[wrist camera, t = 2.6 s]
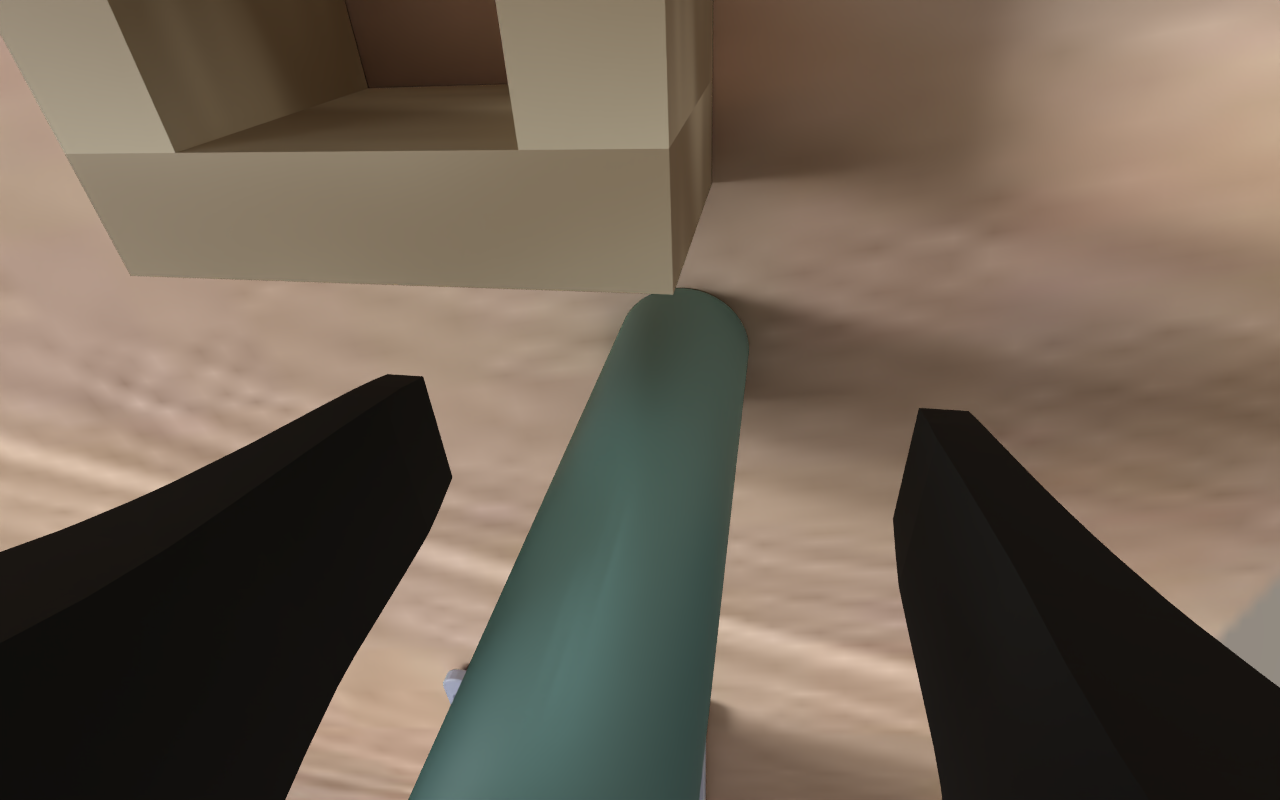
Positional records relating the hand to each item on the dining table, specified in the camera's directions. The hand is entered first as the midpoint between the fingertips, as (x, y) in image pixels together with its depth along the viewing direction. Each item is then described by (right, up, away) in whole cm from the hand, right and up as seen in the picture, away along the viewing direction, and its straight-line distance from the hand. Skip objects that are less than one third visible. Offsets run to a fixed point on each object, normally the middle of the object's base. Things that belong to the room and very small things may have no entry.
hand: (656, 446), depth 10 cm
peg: (+1, +2, +2) cm, 3 cm away
